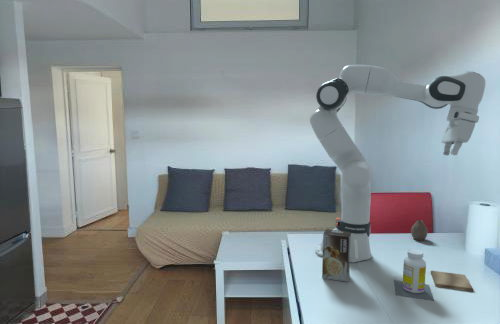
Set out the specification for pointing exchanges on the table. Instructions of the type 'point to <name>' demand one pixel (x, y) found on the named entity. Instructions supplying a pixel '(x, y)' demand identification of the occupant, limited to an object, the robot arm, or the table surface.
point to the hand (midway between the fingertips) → (449, 155)
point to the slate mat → (402, 292)
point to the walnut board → (451, 280)
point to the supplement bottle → (414, 272)
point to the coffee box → (336, 255)
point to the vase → (419, 230)
